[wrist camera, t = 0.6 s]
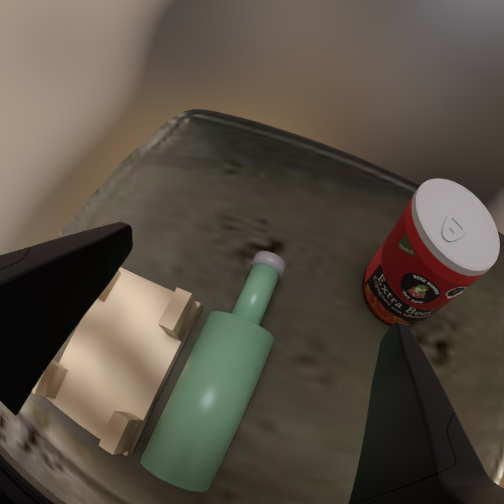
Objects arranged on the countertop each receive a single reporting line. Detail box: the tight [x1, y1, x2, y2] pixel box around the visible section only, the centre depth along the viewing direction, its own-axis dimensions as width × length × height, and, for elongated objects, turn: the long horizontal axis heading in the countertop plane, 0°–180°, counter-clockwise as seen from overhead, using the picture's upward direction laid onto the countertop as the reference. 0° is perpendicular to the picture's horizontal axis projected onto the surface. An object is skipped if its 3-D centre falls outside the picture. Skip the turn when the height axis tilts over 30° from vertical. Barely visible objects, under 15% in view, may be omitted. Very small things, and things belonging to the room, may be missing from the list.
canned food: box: [364, 179, 500, 326], centre depth 21 cm, size 8×8×11 cm
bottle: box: [140, 251, 286, 492], centre depth 20 cm, size 18×5×5 cm, turn 158°
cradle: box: [32, 267, 202, 456], centre depth 20 cm, size 14×9×4 cm, turn 158°
